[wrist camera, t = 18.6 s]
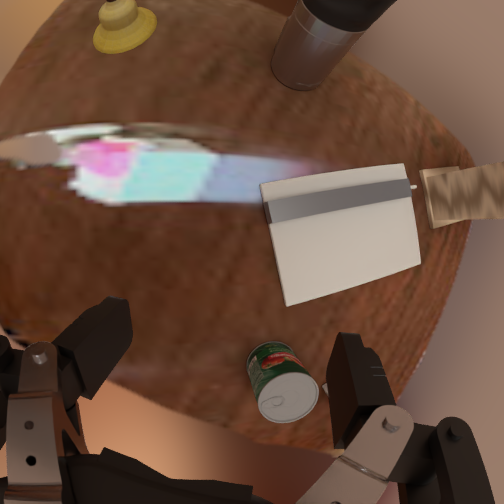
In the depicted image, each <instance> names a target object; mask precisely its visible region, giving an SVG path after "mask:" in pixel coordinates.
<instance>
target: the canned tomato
mask: <svg viewBox="0 0 504 504" xmlns="http://www.w3.org/2000/svg"><path fill="white" fill-rule="evenodd" d="M246 367H247V372H248V374H249V378H250V381H251V384H252V387H253V391H254V394H255V398H256V401H257V403H258V408H259V410H260V412H261V414H262V415H263V416H264V417H265V418H266V419H268V420H270V421H272V422H276V423H289V422H293V421H296V420H298V419H300V418H302V417H304V416H305V415H307V414H308V413H309V412H310V411H311V410H312V409H313V407H314V406H315V404H316V402H317V400H318V395H319V389H318V386H317V384H316V382H315V380H314V379H313V378H312V377H311V375H310V374H309V373H308V372H307V370H306V369H305V367H304V366H303V365H302V363H301V362H300V360H299V359H298V358H297V356H296V355H295V354H294V352H293V351H292V349H291V348H290V347H289V346H287V345H286V344H284V343H282V342H277V341H271V342H266V343H263V344H261V345H259V346H257V347H256V348H255V349H254V350H253V351H252V352H251V353H250V355H249V357H248V360H247V366H246Z"/></svg>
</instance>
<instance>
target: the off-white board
mask: <svg viewBox="0 0 504 504" xmlns="http://www.w3.org/2000/svg"><path fill="white" fill-rule="evenodd" d="M399 179H407V176H406V172H405V168H404V163H402V164H392V165H383V166H374V167H366V168H358V169H350V170H343V171H336V172H329V173H322V174H315V175H309V176H303V177H297V178H291V179H285V180H279V181H274V182H268V183H263V184H260V189H261V194H262V198H263V203H265V202H267V201H270V200H276V199H281V198H286V197H292V196H297V195H303V194H308V193H314V192H320V191H326V190H332V189H338V188H344V187H351V186H357V185H364V184H371V183H377V182H385V181H392V180H399ZM268 226H269V230H270V235H271V240H272V244H273V249H274V254H275V258H276V263H277V268H278V273H279V278H280V283H281V287H282V292H283V297H284V302H285V305H286V306H290V305H294V304H298V303H301V302H305V301H308V300H312V299H315V298H318V297H322V296H325V295H328V294H332V293H335V292H338V291H341V290H345V289H348V288H351V287H354V286H357V285H360V284H364V283H367V282H370V281H373V280H376V279H379V278H382V277H385V276H388V275H390V274H393V273H396V272H399V271H402V270H405V269H408V268H410V267H413V266H416V265H419V264H421V260H420V251H419V243H418V236H417V229H416V222H415V216H414V210H413V205H412V200H411V197H406V198H401V199H395V200H390V201H384V202H379V203H374V204H368V205H363V206H358V207H352V208H347V209H342V210H337V211H332V212H327V213H322V214H317V215H312V216H307V217H302V218H297V219H292V220H287V221H282V222H278V223H273V224H268Z"/></svg>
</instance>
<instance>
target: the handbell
mask: <svg viewBox="0 0 504 504" xmlns="http://www.w3.org/2000/svg"><path fill="white" fill-rule="evenodd" d="M99 20H100V24H99V26H98V27H97V28H96V31H95V33H94V36H93V45H94V46H95V48H96V49H97V50H98V51H100V52H102V53H108V54H115V53H122V52H125V51H128V50H130V49H133V48H135V47H137V46H138V45H140V44H142V43H143V42H144V41H145V40H147V39H148V38H149V37H150V36H151V35H152V33H153V32H154V30H155V29H156V25H157V19H156V16H155V15H154V14H153V13H152V11H150V10H148V9H145V8H142V7H137V4H136V2H135V0H107V2H106V3H105V4H104V5H103V6H102V7H101V8H100V11H99Z"/></svg>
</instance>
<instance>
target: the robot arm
mask: <svg viewBox="0 0 504 504" xmlns="http://www.w3.org/2000/svg"><path fill="white" fill-rule="evenodd" d="M396 1H397V0H298V2H297V4H296V6H295V9H294V11H293V13H292V15H291V16H290V17H288V18H287V21H286V23H285V25H284V27H283V30H282V32H281V34H280V37H279V39H278V42H277V44H276V46H275V49H274V51H275V53H274V56H273V58H272V61H271V68H272V71H273V73H274V75H275V76H276V78H277V79H278V80H279V81H280V82H282V83H283V84H284V85H286V86H288V87H290V88H292V89H296V90H302V91H307V90H312V89H314V88H316V87H318V86H319V85H320V84H321V83H322V81H323V80H324V79H325V78H326V77H327V75H328V74H329V73H330V72H331V71H332V70H333V69H334V67H335V66H336V65H337V64H338V63H339V61H340V60H341V59H342V58H343V57H344V56H345V54H346V53H347V52H348V51H349V50H350V49H351V47H352V46H353V45H354V44H355V43H356V42H357V41H358V39H359V38H360V37H361V36H362V35H363V34H364V33H365V31H366V30H367V29H368V28H369V27H370V26H371V25H372V24H373V23H374V22H375V21H376V20H377V19H378V18H379V17H380V16H381V15H382V14H383V13H384V12H385V11H386V10H387V9H388V8H389V7H390V6H391V5H392V4H393V3H394V2H396ZM132 337H133V330H132V324H131V316H130V308H129V303H128V301H127V300H126V299H122V298H118V297H113V296H108V297H107V298H106V299H104V300H103V301H102V302H101V303H100V304H99V305H96V306H93V307H91V308H89V309H87V310H86V311H84V312H83V313H82V314H81V315H80V316H79V318H77V319H76V320H75V321H74V322H73V323H72V324H70V325H69V326H68V327H67V328H66V329H65V330H64V331H63V332H62V333H61V334H60V335H59V336H58V337H57V338H56V339H55V340H54V341H53V342H51V343H49V342H37V343H34V344H31V345H30V346H28V347H27V348H26V349H25V350H18V349H12V347H11V345H10V342H9V340H8V338H7V337H5V336H3V335H0V450H1V448H2V447H3V445H4V444H5V442H6V454H7V455H6V456H7V473H8V476H6V477H3V478H0V504H273V503H271V502H270V501H268V500H265V499H263V498H261V497H258V496H256V495H253V494H252V489H253V486H249V485H242V484H234V483H228V482H222V481H217V480H183V479H171V478H168V477H166V476H164V475H162V474H161V473H159V472H157V471H155V470H153V469H152V468H150V467H148V466H147V465H145V464H143V463H141V462H140V461H138V460H137V459H134V458H131V457H128V456H126V455H123V454H120V453H118V452H115V451H113V450H110V449H108V448H105V447H104V448H103V450H102V452H101V454H100V455H97V454H89V451H88V449H87V446H86V443H85V439H84V434H83V429H82V423H81V417H80V410H79V404H78V402H77V399H78V398H79V396H82V397H85V398H87V399H89V400H92V398H93V397H94V395H95V394H96V392H97V391H98V390H99V388H100V387H101V385H102V384H103V382H104V381H105V380H106V378H107V377H108V375H109V374H110V373H111V371H112V370H113V368H114V367H115V366H116V364H117V363H118V361H119V360H120V359H121V357H122V356H123V355H124V353H125V352H126V350H127V349H128V348H129V346H130V344H131V342H132ZM382 367H383V366H382V363H381V361H380V358H379V356H378V355H377V354H376V353H375V352H374V351H373V350H372V349H371V348H365V347H364V346H363V343H362V340H361V337H360V335H359V334H356V333H343V332H339V333H338V335H337V337H336V341H335V344H334V347H333V350H332V353H331V356H330V359H329V362H328V366H327V372H326V381H327V389H328V397H329V405H330V414H331V423H332V433H333V443H334V449H345V451H344V452H343V454H342V455H341V456H339V457H338V458H337V459H336V460H335V461H334V463H333V464H332V465H331V466H330V467H329V468H328V469H327V471H326V472H325V473H324V474H323V475H322V476H321V477H320V478H319V480H318V481H317V482H316V483H315V484H314V485H313V486H312V487H311V488H310V489H309V490H308V491H307V492H306V493H305V494H304V495H303V496H302V497H301V498H300V499H299V500H298V501H297V502H296V503H295V504H376V503H377V501H378V500H379V498H380V497H381V495H382V494H383V492H384V490H385V489H386V486H387V485H388V482H389V481H392V482H397V484H398V492H399V501H400V504H495V501H494V497H493V494H492V490H491V486H490V483H489V479H488V476H487V473H486V470H485V467H484V464H483V461H482V458H481V455H480V452H479V449H478V446H477V444H476V441H475V438H474V436H473V433H472V431H471V429H470V427H469V425H468V424H467V423H466V422H465V421H463V420H462V419H460V418H457V417H446V418H444V419H443V420H441V421H440V422H439V424H438V425H437V426H436V427H434V426H428V425H422V424H417V423H414V422H413V419H412V417H411V416H410V415H409V413H408V412H406V411H405V410H404V409H402V408H400V407H397V406H396V403H395V400H394V397H393V394H392V391H391V388H390V386H389V383H388V380H387V377H385V375H386V374H385V372H384V369H382Z"/></svg>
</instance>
